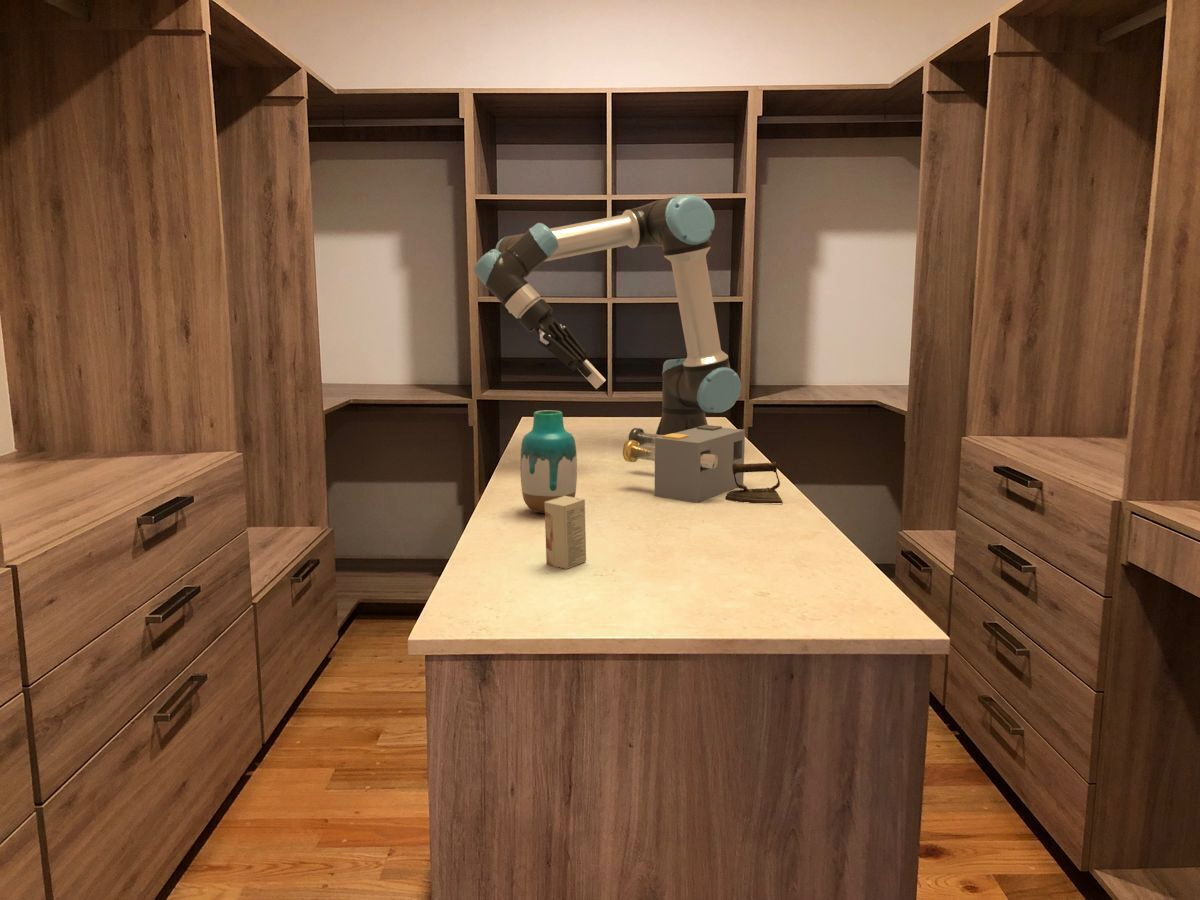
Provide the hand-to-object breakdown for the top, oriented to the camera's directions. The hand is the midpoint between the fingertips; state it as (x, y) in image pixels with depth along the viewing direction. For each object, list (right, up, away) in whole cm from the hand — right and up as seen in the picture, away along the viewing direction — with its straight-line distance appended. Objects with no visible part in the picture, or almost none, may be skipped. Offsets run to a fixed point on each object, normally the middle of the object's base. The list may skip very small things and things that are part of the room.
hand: (601, 384), depth 202 cm
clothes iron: (+30, -25, -24) cm, 46 cm away
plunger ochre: (+14, -18, -20) cm, 31 cm away
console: (+21, -23, -15) cm, 35 cm away
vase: (-10, -27, -34) cm, 44 cm away
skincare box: (-6, -33, -65) cm, 73 cm away
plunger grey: (+16, -16, -4) cm, 23 cm away
